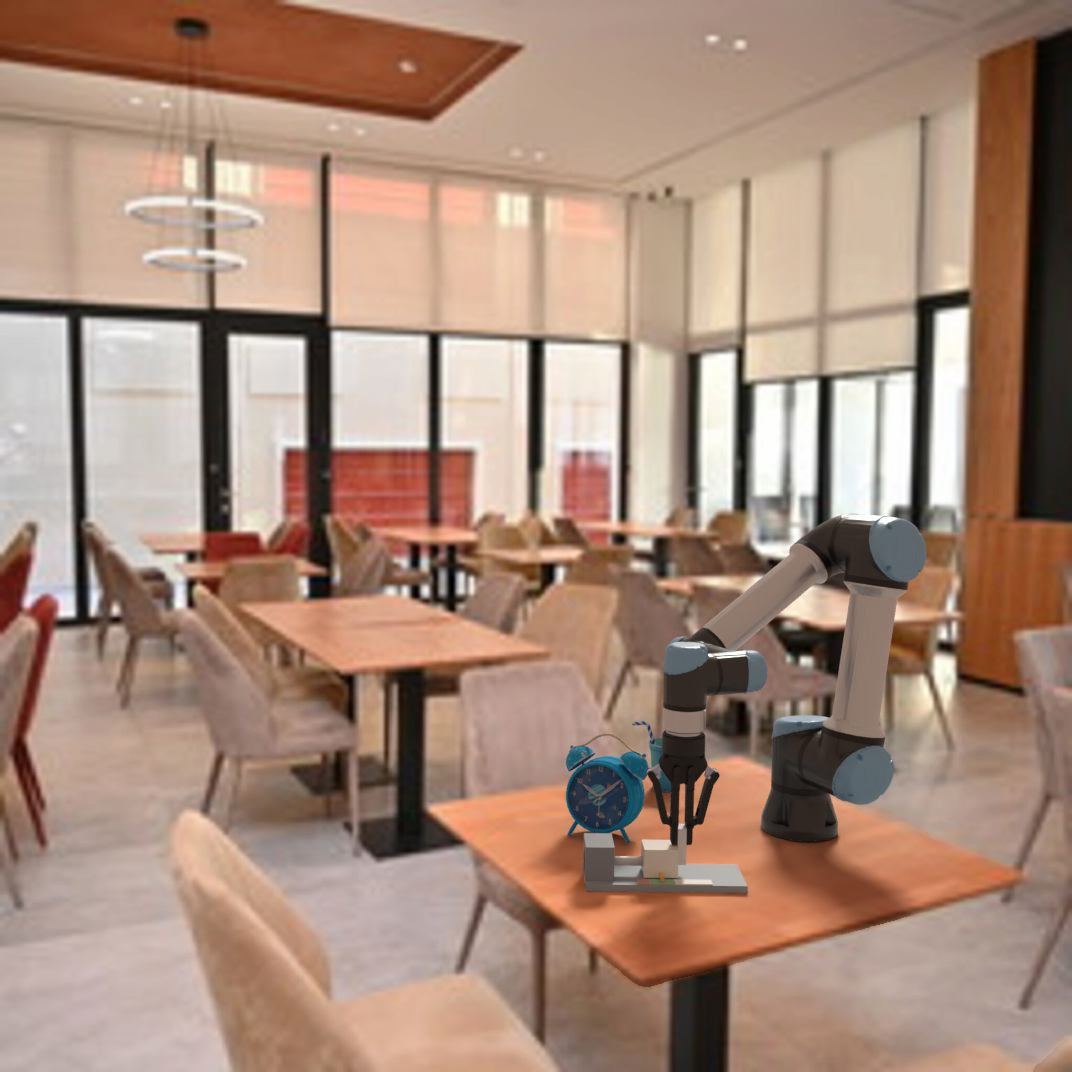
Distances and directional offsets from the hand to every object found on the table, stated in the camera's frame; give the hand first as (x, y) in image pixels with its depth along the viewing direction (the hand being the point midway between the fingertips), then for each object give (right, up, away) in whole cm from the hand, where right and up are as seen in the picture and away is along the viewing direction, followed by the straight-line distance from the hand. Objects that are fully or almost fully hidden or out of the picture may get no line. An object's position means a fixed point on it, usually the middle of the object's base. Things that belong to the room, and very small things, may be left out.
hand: (680, 862), depth 189 cm
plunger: (-8, -2, -1) cm, 8 cm away
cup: (+3, 0, +53) cm, 53 cm away
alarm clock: (-12, -2, +22) cm, 25 cm away
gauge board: (-3, -3, 0) cm, 5 cm away
